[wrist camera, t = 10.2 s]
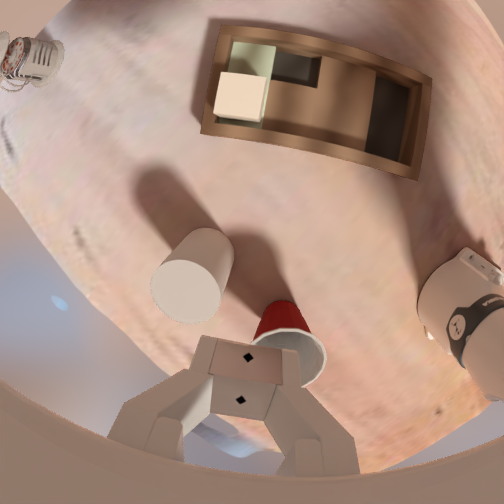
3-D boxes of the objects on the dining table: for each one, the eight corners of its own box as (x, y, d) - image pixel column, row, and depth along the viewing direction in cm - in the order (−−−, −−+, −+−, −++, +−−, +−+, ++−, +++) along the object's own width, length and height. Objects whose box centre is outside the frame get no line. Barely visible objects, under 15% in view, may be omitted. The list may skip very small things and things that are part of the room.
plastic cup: (330, 308, 43) (345, 357, 32) (287, 349, 47) (289, 401, 35) (277, 271, 41) (278, 316, 30) (235, 318, 45) (225, 369, 34)
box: (417, 83, 29) (432, 78, 25) (403, 176, 35) (417, 181, 31) (226, 37, 30) (221, 24, 25) (208, 135, 35) (200, 133, 31)
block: (267, 86, 30) (266, 77, 26) (260, 123, 32) (258, 119, 28) (227, 81, 30) (221, 71, 26) (221, 117, 32) (213, 113, 28)
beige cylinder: (175, 267, 42) (145, 308, 31) (189, 219, 39) (158, 248, 28) (224, 286, 43) (209, 333, 32) (242, 239, 40) (230, 276, 29)
